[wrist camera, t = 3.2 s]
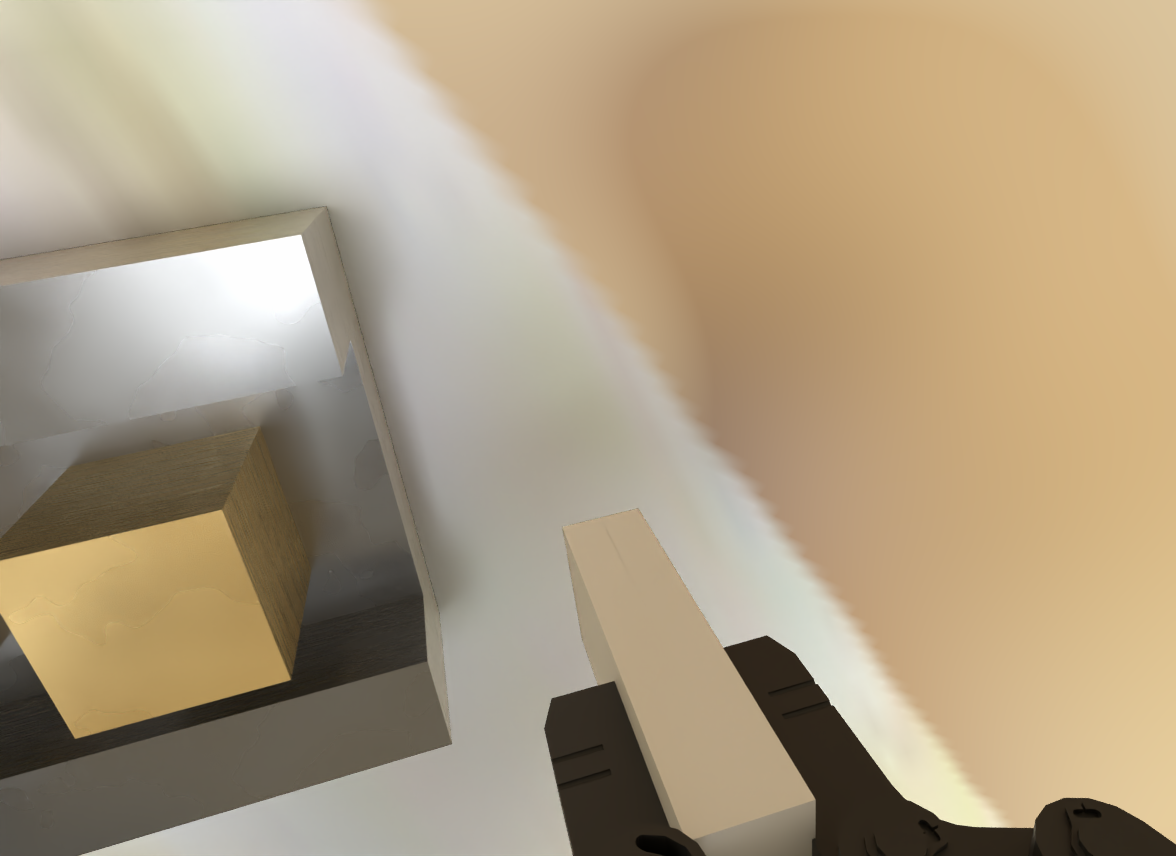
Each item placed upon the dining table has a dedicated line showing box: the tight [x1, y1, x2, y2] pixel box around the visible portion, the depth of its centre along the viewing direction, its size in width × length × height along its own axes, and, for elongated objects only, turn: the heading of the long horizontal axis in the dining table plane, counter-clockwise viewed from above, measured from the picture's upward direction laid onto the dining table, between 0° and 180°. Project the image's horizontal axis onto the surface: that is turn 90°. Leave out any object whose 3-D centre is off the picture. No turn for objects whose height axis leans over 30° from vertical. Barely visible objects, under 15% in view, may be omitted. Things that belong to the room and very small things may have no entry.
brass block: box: [0, 426, 311, 739], centre depth 17 cm, size 4×4×4 cm
